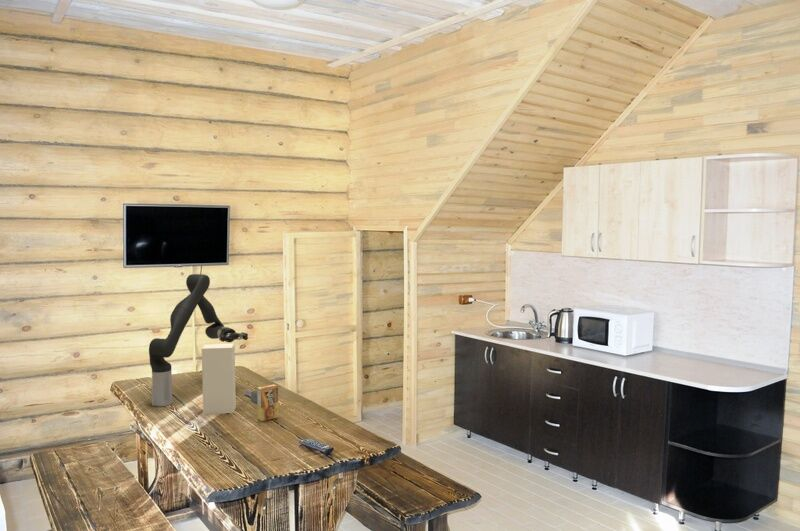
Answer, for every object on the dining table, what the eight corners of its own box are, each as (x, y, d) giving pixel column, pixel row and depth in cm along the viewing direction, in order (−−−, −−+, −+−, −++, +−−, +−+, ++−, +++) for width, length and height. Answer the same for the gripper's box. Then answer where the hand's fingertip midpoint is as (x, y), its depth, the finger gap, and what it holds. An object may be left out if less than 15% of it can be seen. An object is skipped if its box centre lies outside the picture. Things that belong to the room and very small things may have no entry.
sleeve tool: (257, 404, 318) (257, 394, 318) (241, 395, 333) (241, 386, 333) (268, 402, 322) (267, 392, 322) (251, 393, 337) (251, 384, 336)
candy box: (274, 415, 301) (273, 383, 299) (278, 417, 297) (278, 385, 296) (257, 419, 295) (256, 387, 294) (261, 421, 292) (261, 389, 290)
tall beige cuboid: (203, 414, 302) (201, 348, 299) (206, 408, 312) (205, 344, 309) (233, 413, 304) (231, 347, 301) (235, 406, 314) (234, 343, 311)
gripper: (213, 329, 339) (225, 333, 326) (238, 326, 348) (251, 330, 335) (214, 342, 340) (226, 348, 327) (239, 339, 348) (251, 344, 336)
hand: (239, 339), depth 331 cm, fingers open, 8 cm apart
